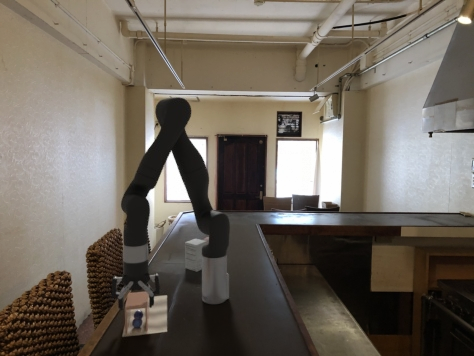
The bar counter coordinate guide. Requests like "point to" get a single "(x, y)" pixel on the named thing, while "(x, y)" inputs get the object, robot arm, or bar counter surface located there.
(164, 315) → the birch mat
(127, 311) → the terracotta cover
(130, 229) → the robot arm
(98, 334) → the bar counter surface
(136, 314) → the navy marble back
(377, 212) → the bar counter surface
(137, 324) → the navy marble front
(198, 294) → the bar counter surface
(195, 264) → the supplement box
